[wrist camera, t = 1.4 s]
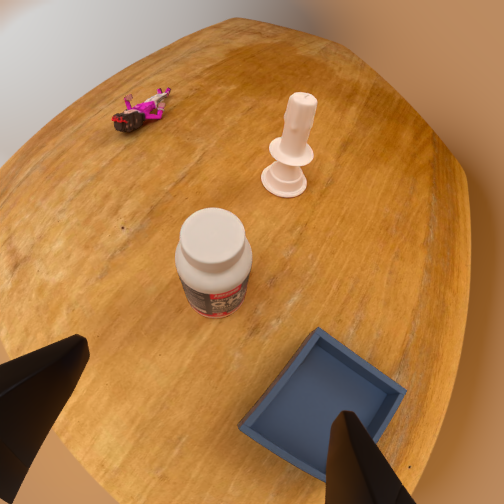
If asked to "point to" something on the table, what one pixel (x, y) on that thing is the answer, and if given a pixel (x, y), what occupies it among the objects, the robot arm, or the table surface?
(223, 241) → the pill bottle
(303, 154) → the candle
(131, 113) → the character figurine
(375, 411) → the tray
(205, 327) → the table surface
